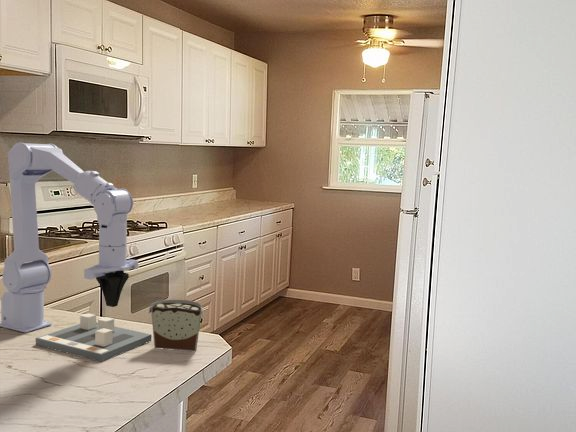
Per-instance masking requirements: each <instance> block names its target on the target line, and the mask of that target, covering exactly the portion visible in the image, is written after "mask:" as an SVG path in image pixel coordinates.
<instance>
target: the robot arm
mask: <svg viewBox="0 0 576 432" xmlns="http://www.w3.org/2000/svg"><path fill="white" fill-rule="evenodd" d="M7 157H8V159H7V161H8V162H7V163H8V176H9V190H10V203H11V205H10V206H11V218H12V221H11V222H12V234H13V235H12V237H13V249H14V250H13V251H12V252H11V253H10V254H9V255H8V256H7V257H6V258H5V259H4V262H3V263H4V265H3V266H4V268H3V271H2V275H1V277H2V283H3V285H4V287H5V288H6V290H5V291H4V292H3V294H2V297H1V301H0V302H1V303H0V307H1V308H0V313H1V315H0V318H1V320H0V327H2V328H5V329H10V330H14V331H17V332H22V333H28V332H31V331H35V330H39V329H41V328H46V327H48V326H49V327H50V326H51V325H52V324H53V322H50V321H46V320H44V319H45V318H44V317H45V316H44V315H45V313H44V312H45V309H44V307H45V305H44V304H45V301H44V299H45V295H44V294H45V293H44V291H45V289H47V285H48V284H49V283H50V281H51V279H52V269H51V266H50V265H49V258H48V254H46V253H45V252H43V251H42V250H40V245H39V243H40V242H39V230H38V227H39V226H38V211H37V198H36V197H37V196H36V193H37V192H36V185H37V182H39V180H40V179H41V178H42V177H44V176H46V175H48V174H49V173H52V172H55V173H56V174H58V175H60V176H61V177H63V178H64V179H66V180H67V181H69V182H71V183H72V184H73V188H74V191H75V192H76V193H77V194H78V195H79V196H81V197H82V198H83V199H85V200H87V201H88V202H89V203H90V204H92V205H93V210H94V212H95V213H96V217H97V219H96V221H97V222H98V225H99V227H98V229H99V232H98V238H99V239H98V263H97V264H95V265H93V266H91V267H88V268H86V269H85V268H84V269H83V274H84V277H83V279H86V280H96V282H97V283H98V284H99V286H100V288H101V291H102V294H103V297H104V301H105V305H106V306H107V307H110V308H115V307H118V305H119V301H120V298H121V294H122V291H123V290H124V289H123V288H124V287H125V284H126V282H127V281H128V279H129V277H130V276H129V275H130V274H129V273H127V272H125V271H129V270H137V269H139V260H138V259H127V240H128V238H127V236H128V235H127V232H128V231H127V229H128V222H127V221H128V214H130V213H131V211H132V209H133V206H134V200H133V197H132V194H131V193H130V192H129V191H128V189H126V188H122V187H121V188H117V187H115V186H114V184H113V183H112V182H108V181H106V180H105V178H102V177H101V176H100V173H99V172H98V171H96V170H86V171H84V170H83V169H82V168H80V166H78V165H77V164H76V163H74V162H73V161H72V160H71V159H70V158H68V157H67V156H66V155H65V154H64V153H63V149H61V148H60V147H58V146H57V145H55V143H54V144H53V143H30V142H29V143H26V142H25V143H24V142H21V141H20V142H16V143H15V144H14V145H13V146H12V147H11V148H10V150H9V151H8V152H7Z"/></svg>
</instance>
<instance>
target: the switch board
mask: <svg viewBox="0 0 576 432" xmlns="http://www.w3.org/2000/svg"><path fill="white" fill-rule="evenodd" d="M97 330H98V321H96V328H93V329H90V330H86V329H81V328H80V323H79V324H78V323H77V324H76V325H72V326H69V327H66V328H62V329H60V330H56V331H53V332H51V333H48V334H44V335H41V336H37V337H35V345H36V346H40V347H44V348H47V347H49V348H48V349H50V348H52V349H51V350H54V349H56V350H55V351H58V350H61V351H60V352H62V351H64V352H63V353H66V352H68V353H67V354H70V353H71V354H70V355H73V354H74V355H73V356H77V355H78V356H79V357H81V356H82V358H86V359H90V360H92V361H93V360H94V361H97V362H102V363H103V362H104V361H106V360H109V359H111V358H114V357H116V356H118V354H119V355H120V353H121V354H123V353H122V352H124V353H125V351H126V352H128V351H130V349H131V350H132V348H133V349H135V347H136V348H138V347H140V346H143V345H145V344H147V343H146V342H148V343H150V342H152V337H153V336H152V335H153V334H151V333H145V332H140V331H137V330H133V329H129V328H128V329H127V328H123V327H118V326H115V325H114V332H113V334H112V344H110V345H107V346H105V347H103V346H99V345H95V331H97ZM149 341H150V342H149ZM144 343H145V344H144ZM142 344H143V345H142ZM139 345H140V346H139ZM137 346H138V347H137ZM127 350H128V351H127ZM115 355H116V356H115ZM78 356H77V357H78ZM113 356H114V357H113Z"/></svg>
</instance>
